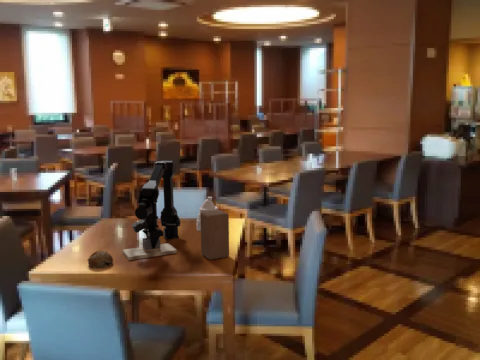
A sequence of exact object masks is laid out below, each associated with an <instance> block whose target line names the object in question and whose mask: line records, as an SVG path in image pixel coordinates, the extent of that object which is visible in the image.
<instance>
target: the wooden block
mask: <svg viewBox="0 0 480 360" xmlns="http://www.w3.org/2000/svg"><path fill="white" fill-rule="evenodd" d="M200 216H201V232H200V243H201V245H200V248H201V249H200V251H201V252H200V253H201V255H202V256H203V257H205V258H206V259H208V260H211V261H212V260H217V259H222V258H228V257H230V222H229V219H230V218H229V213H228V212H225V211H223V210H221V209H217V210H212V211H204V212H201V213H200Z"/></svg>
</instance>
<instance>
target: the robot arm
mask: <svg viewBox="0 0 480 360" xmlns="http://www.w3.org/2000/svg"><path fill="white" fill-rule="evenodd" d="M177 167H178V166H177V162H175V161H174V160H160V161H156V162H155V164H154V168H153V171H152V173H151V176H150V178H149V180H148V182H146V183H145V184H144V185H143V186H142V187H141V190H140V191H139V195H138V199H137V200H138V201H137V204H138V207H137V208H136V209H135V211H134V215H135V217H136V218H137V219H138V221H137V222H134V223H131V228H132V229H133V232H135V233H136V234H137V233H139V232H141V231H142V232H143V233H144V234H145V236H146V238H150V241H151V245H152V249H154V248H155V247H156V244H157V242H158V240H159V238H160V239H161V237H164V238H165V239H166V240H173V239H179V238H180V236H179V227H180V226H181V218H180V217H179V215H178V210H177V208H176V207H175V205H174V176H175V175H176V172H177ZM162 180H163V181H162ZM161 181H162V182H163V183H162V184H163V209H162V210H161V211H160V224H161V227H164V228H163V230H162V229H160V227H159V225H158V219H159V216H158V214H157V213H158V212H157V211H158V207H157V205H158V204H157V203H158V199H159V196H160V190H159V186H160V184H161Z"/></svg>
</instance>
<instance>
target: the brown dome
mask: <svg viewBox="0 0 480 360" xmlns="http://www.w3.org/2000/svg"><path fill="white" fill-rule="evenodd" d="M87 262H88V263H87V264H88V266H89V267H90V268H91V269H105V268H107V267H110V266H111V265H113V264H114V259H113V257H112V255H111V254H110V253H109V252H108V251H107V250H106V251H105V250H96V251H94V252H93V253H91V254H90V255H89V257H88V258H87Z"/></svg>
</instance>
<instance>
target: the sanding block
mask: <svg viewBox="0 0 480 360" xmlns="http://www.w3.org/2000/svg"><path fill="white" fill-rule="evenodd" d="M160 244H161V237H160V238H159V240H158V242H157V244H156V247H155V248H154V249H152V245H151V241H150V238H147V237H144V238H143V237H142V247H143V250H144V251H145V252H146V251H153V250H160Z"/></svg>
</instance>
